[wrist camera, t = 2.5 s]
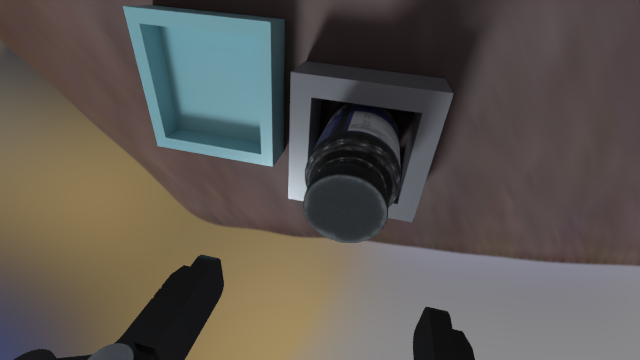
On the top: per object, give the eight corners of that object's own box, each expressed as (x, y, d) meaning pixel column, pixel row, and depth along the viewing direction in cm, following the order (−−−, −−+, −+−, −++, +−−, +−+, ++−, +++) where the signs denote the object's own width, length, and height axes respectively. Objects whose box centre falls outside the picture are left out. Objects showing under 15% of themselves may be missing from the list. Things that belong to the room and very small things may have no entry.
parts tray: (284, 18, 22) (270, 22, 19) (283, 151, 28) (272, 166, 25) (152, 5, 23) (122, 6, 21) (178, 133, 29) (158, 145, 27)
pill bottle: (343, 172, 28) (316, 260, 18) (315, 113, 25) (269, 180, 16) (409, 153, 25) (416, 243, 16) (386, 85, 23) (378, 146, 14)
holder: (445, 78, 21) (453, 93, 18) (410, 194, 27) (412, 222, 24) (305, 61, 23) (290, 71, 20) (300, 174, 29) (288, 198, 25)
